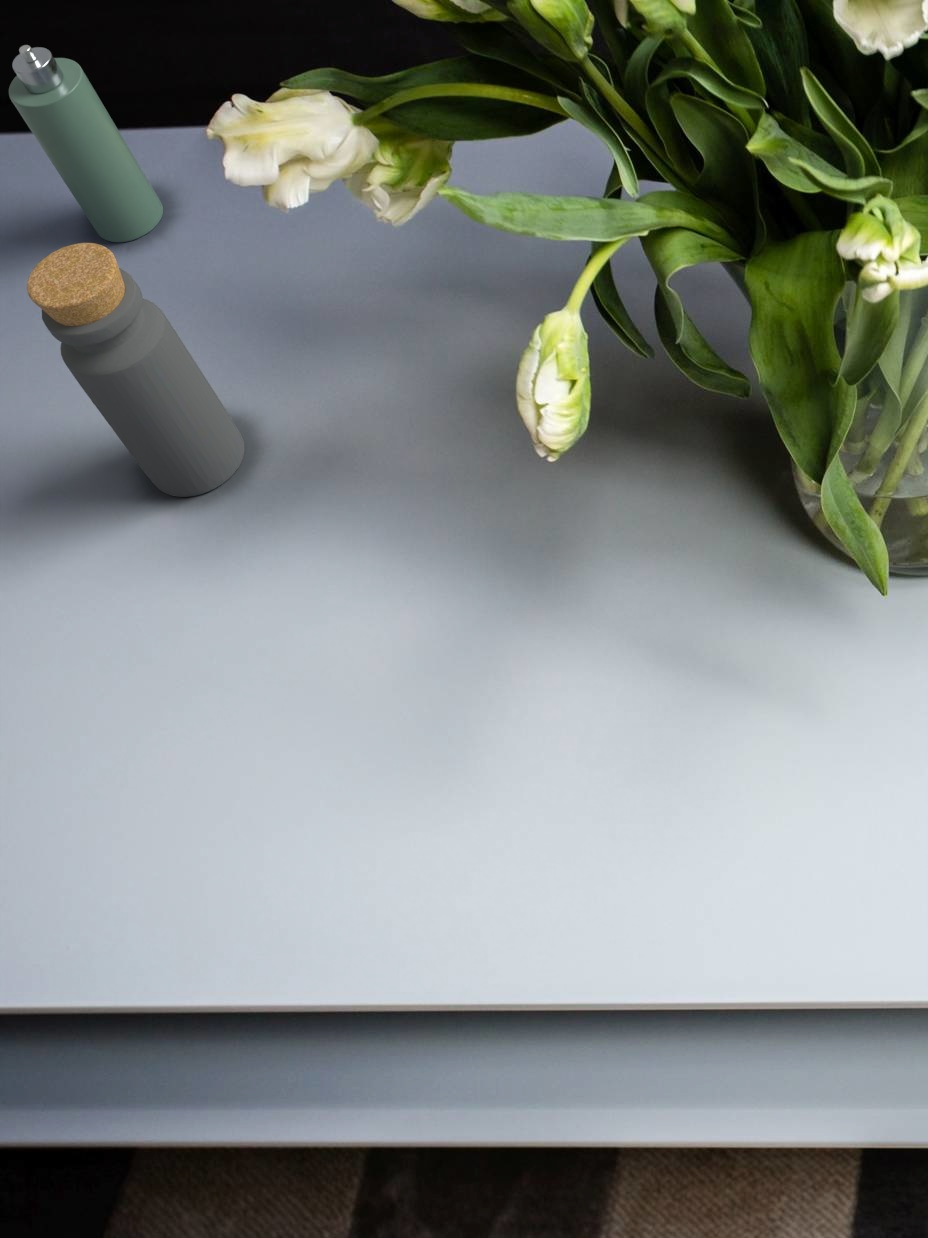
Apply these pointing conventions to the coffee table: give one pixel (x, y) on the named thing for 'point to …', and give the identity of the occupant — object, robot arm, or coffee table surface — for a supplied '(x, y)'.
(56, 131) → the spray can
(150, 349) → the bottle
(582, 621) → the coffee table surface
